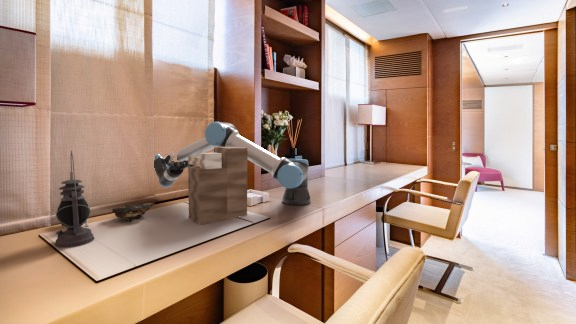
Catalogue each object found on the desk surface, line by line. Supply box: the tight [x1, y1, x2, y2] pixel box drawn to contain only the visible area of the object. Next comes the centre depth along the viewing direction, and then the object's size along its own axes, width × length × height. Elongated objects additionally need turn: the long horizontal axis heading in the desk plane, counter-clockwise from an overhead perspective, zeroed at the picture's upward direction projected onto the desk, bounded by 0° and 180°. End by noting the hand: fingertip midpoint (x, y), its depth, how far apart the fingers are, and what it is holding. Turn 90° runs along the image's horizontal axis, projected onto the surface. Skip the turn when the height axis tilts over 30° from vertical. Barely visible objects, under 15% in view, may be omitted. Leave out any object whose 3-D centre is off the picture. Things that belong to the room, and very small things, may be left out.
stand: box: [187, 146, 248, 225], centre depth 128 cm, size 11×22×30 cm, turn 132°
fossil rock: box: [111, 202, 155, 221], centre depth 124 cm, size 14×14×6 cm
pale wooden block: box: [188, 152, 222, 169], centre depth 127 cm, size 21×7×6 cm, turn 41°
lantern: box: [54, 150, 95, 249], centre depth 97 cm, size 12×11×30 cm
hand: (188, 153), depth 137 cm, fingers open, 13 cm apart
